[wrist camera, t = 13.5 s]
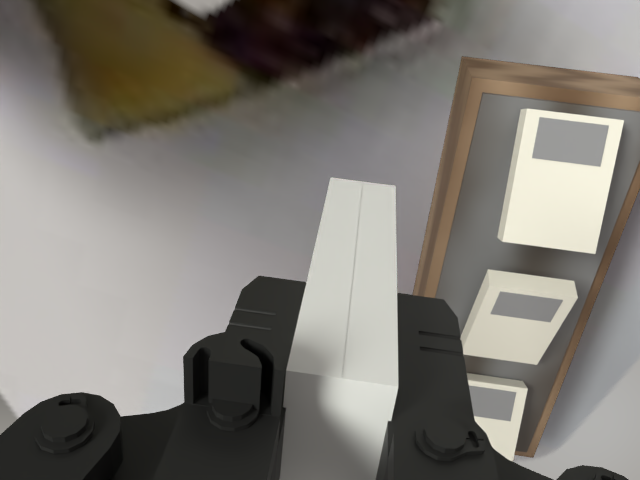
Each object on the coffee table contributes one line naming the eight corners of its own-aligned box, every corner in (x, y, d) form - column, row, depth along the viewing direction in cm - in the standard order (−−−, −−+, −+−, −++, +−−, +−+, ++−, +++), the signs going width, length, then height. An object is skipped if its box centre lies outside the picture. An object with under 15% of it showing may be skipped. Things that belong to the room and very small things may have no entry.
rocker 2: (497, 237, 37) (502, 241, 36) (520, 109, 36) (527, 108, 34) (586, 249, 37) (595, 254, 36) (614, 120, 36) (624, 120, 34)
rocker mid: (459, 338, 44) (460, 354, 43) (487, 269, 39) (489, 286, 38) (534, 348, 44) (537, 365, 43) (574, 280, 38) (578, 298, 37)
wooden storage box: (393, 388, 56) (393, 447, 50) (462, 56, 41) (474, 82, 35) (522, 406, 56) (539, 469, 49) (641, 77, 40) (687, 107, 34)
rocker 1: (434, 462, 48) (436, 472, 46) (450, 370, 46) (453, 378, 45) (504, 473, 47) (508, 483, 46) (522, 380, 46) (527, 388, 44)
